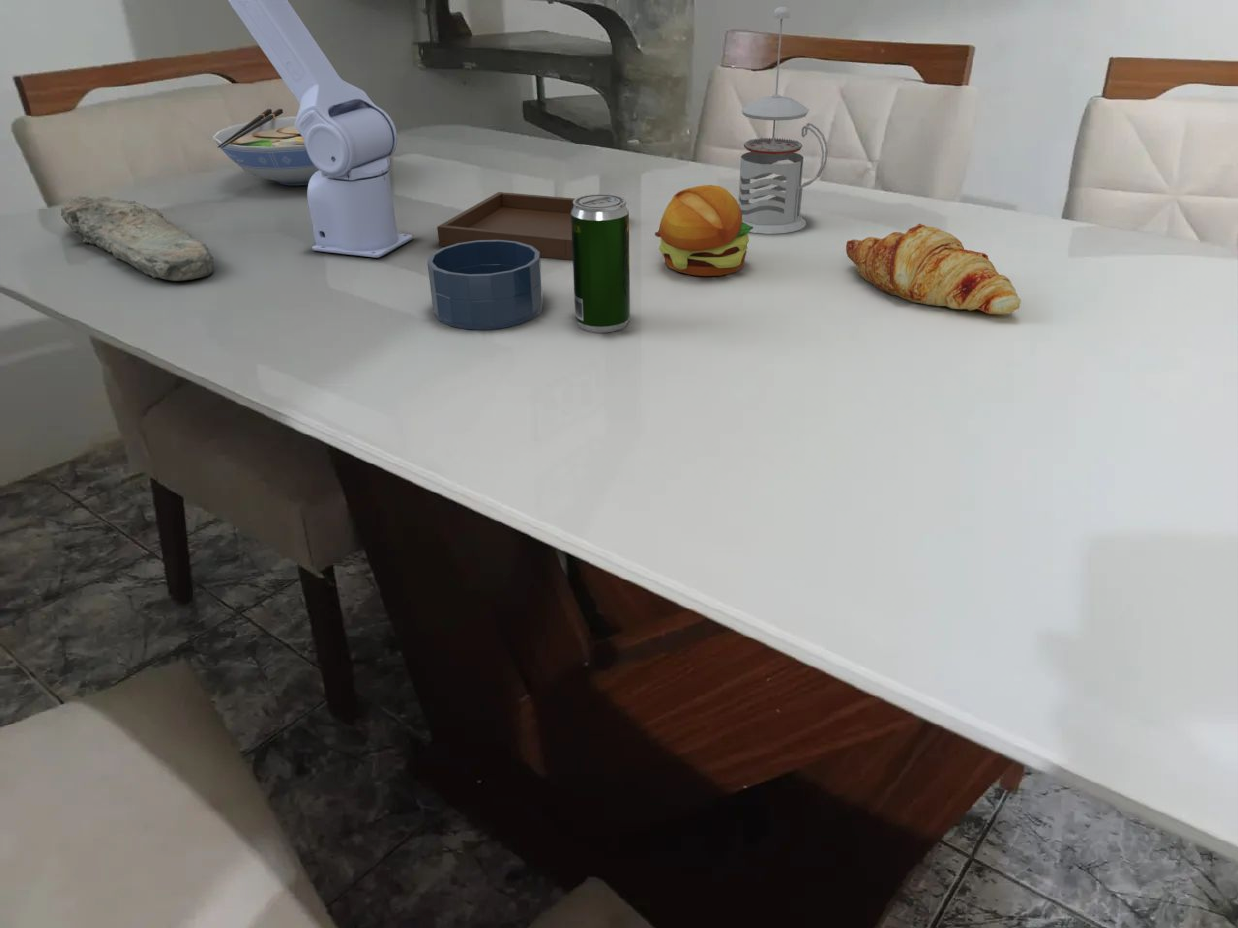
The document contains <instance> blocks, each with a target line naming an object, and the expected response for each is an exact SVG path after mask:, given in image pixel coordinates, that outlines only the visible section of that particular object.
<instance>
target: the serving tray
mask: <svg viewBox="0 0 1238 928" xmlns="http://www.w3.org/2000/svg"><path fill="white" fill-rule="evenodd" d="M574 199H576V198H574V197H563V196H562V197H561V196H553V195H552V196H550V195H541V194H540V195H538V194H529V193H528V194H527V193H525V194H524V193H515V192H514V193H513V192H502V191H498V192H496V193H494V194H492V195H491V196H489V197H487V198H485V199H483V200H482V201H480V202H478V203H477V204H474V205H473V206H471V207H469V208H468V209H466V210H464V211H462V212H460V213H459V214H457V215H454V216H453V217H451V218H449V219H448V220H446V221H445V222H442V223H441V224H440V225H437V226H436V230H437V239H438V246H439V247H443V248H444V247H448V246H451V245H454V244H457V243H463V242H470V241H477V240H506V241H516V242H520V243H524V244H527V245H531V246H533V247H534V248H535V249H537V250H538V251H539V252H540V258H549V259H558V260H568V261H573V254H572V230H571V210H572V208H573V200H574Z"/></svg>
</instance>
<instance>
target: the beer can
mask: <svg viewBox="0 0 1238 928" xmlns="http://www.w3.org/2000/svg"><path fill="white" fill-rule="evenodd" d="M571 230H572V254H573V260H572V275H573V276H572V277H573V297H574V299H573V300H574V317H575V321H576V323H577V325H578V327H580V329H581V330H584V331H587V332H590V333H595V334H596V333H598V334H603V333H604V334H605V333H614V332H617V331H621V330H622V329H624V328H625V327H626V325H627V324H628V322H629V319H630V317H631V294H630V293H631V291H630V290H631V289H630V286H631V284H630V278H631V277H630V211H629V208H628V207H627V200H626V198H625V197H622V196H621V195H616V194H611V193H609V194H608V193H595V194H585V195H582V196H578V197H576V198H575V199H574V200H573V208H572V210H571Z"/></svg>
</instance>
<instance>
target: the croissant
mask: <svg viewBox="0 0 1238 928" xmlns="http://www.w3.org/2000/svg"><path fill="white" fill-rule="evenodd" d="M845 252H846V255H847V258H849V260H851V262H852V263H853V264H854V265H855V267H856V269H857V271H858V273H859V275H860V276H861V278H863V279H864V280H865V281H866V282H868V283H872V284H873V285H874V286H875V287H876V288H878V289H879V290H881V291H883V292H885V293H887V294H889V295H891V296H896V297H899V298H901V299H904V300H906V301H908V302H912V303H916V304H922V305H928V306H937V307H947V308H950V309H952V310H967V311H975V310H979V311H981V312H983V313H985V314H989V315H1005V314H1009V313H1013V312H1015V311H1017V310H1018V309H1020V305H1021V299H1020V298H1019V296H1018V294H1017V291H1016V288H1015V286H1014V285H1013V284H1012V282H1011V280H1010V279H1009V278H1008V277H1007V276H1005V275H1004V274H1000V273H999V272H998V270H997V269H996V267H995V265H994V264H993V262H992V261H991V260H989V255H988V254H986V253H985V252H979V251H974V250H971V249H965V247H964V245H963V242H962V241H960V239H959V238H957V237H956V236H954V234H952V233H949V232H947V231H944V230H941V228H938V227H934V226H927V225H925V224H922V223H918V224H917V225H915V226H913V227H911V228H909V229H908V230H907V231H906V232H905V233H904V232H900V231H894V232H893V231H892V232H891V233H890V234H888V235H886V236H884V238H880V237H872V236H870V237H869V236H868V237H865V238H864V239H862V240H861V239H860V240H859V239H851V240H847V242H846V246H845Z"/></svg>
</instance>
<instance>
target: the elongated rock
mask: <svg viewBox="0 0 1238 928" xmlns="http://www.w3.org/2000/svg"><path fill="white" fill-rule="evenodd" d="M60 216H61V218H62V219H63V221H64V222H65V223H66V224H67V226H69V227H70V228H71V229H73V232H74V233H78V234H79V235H81V236H82V238H83V240H82V243H84V244H87V243H89V245H96V247H98V248H101V250H104V251H106V252H107V253H110V254H111V253H112V255H113V257H114V258H115V259H119V260H122V261H123V262H124V263H125V262H126V263H127V264H129V265H131V266H132V267H134V268H135V269H136V270H139V271H140V272H141V273H143V274H144V275H145V276H149V277H150V276H151V277H152V278H153V279H155V278H159V279H162V280H166V281H173V282H179V281H180V282H181V281H190V280H196V279H201V278H205V277H208V276H209V275H210V274H211V273H213V270H214V269H213V268H214V257H213V256H212V255H211V253H210V251H209V248H208V247H207V245H206V244H205V243H203V242H202V241H200V240H197V239H196V238H194V237H193V236H192V234H190V233H188V232H187V231H185V230H183V229H180V227H178V226H176V225H175V224H174V223H173V222H171V221H170V220H167V219H166V218H165V217H164V216H163V213H162V212H160V211H159V210H158V208H156V207H149V206H147V205H145V204H141V203H139V202H136V201H135V200H126V199H116V198H112V197H109V196H98V197H89V196H81V195H79V196H76V197H75V199H73V198H70V199H69V200H68V199H67V200H66V202H65V203H63V204H62V206H60Z"/></svg>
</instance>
